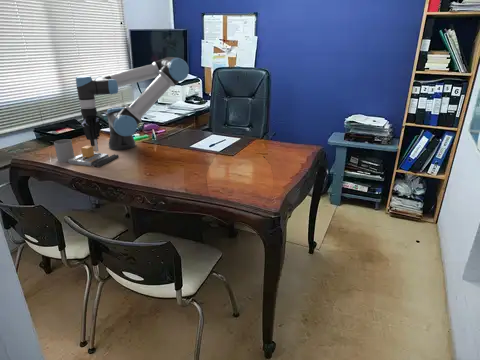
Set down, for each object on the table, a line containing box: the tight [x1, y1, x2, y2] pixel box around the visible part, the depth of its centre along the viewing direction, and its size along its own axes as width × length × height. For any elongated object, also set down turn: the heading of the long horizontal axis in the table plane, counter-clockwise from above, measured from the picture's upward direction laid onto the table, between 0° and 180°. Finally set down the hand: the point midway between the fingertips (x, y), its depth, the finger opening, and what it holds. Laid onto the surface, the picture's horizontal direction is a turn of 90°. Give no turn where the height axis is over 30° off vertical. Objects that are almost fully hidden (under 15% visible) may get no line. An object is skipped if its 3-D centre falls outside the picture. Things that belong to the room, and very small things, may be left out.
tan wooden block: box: [80, 145, 95, 158], centre depth 180 cm, size 4×4×5 cm
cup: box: [53, 138, 76, 163], centre depth 181 cm, size 8×8×10 cm
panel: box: [67, 152, 110, 167], centre depth 181 cm, size 14×14×3 cm
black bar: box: [93, 153, 119, 168], centre depth 179 cm, size 17×3×2 cm, turn 163°
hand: (95, 150), depth 186 cm, fingers closed
